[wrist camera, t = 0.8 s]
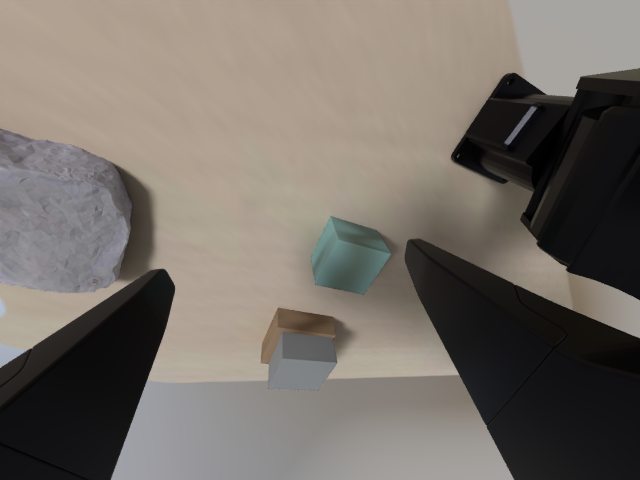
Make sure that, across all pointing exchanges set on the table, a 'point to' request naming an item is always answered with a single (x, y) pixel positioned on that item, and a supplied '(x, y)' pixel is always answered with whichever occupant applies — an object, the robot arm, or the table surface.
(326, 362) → the grey middle block
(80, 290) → the stone block
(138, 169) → the table surface
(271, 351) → the walnut base block
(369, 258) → the teal block
